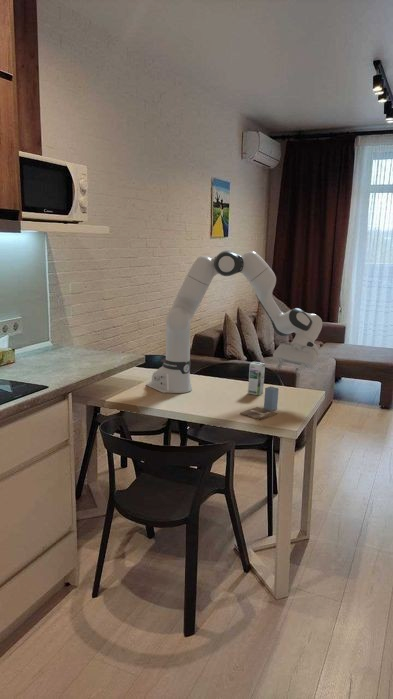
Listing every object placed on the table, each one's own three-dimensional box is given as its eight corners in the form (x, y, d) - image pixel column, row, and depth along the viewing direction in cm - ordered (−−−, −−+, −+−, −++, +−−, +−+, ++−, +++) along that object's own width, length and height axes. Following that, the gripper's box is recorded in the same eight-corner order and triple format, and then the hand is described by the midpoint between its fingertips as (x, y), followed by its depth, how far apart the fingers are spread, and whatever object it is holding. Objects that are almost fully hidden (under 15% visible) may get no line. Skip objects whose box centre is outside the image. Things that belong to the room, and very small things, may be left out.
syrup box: (247, 393, 246) (249, 363, 243) (252, 390, 251) (254, 360, 248) (258, 395, 243) (261, 365, 240) (263, 392, 248) (265, 362, 246)
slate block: (263, 408, 225) (265, 388, 223) (269, 406, 228) (270, 386, 226) (271, 410, 222) (273, 390, 221) (277, 408, 225) (278, 388, 224)
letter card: (239, 414, 216) (240, 412, 216) (257, 408, 225) (257, 406, 225) (260, 420, 210) (260, 418, 209) (277, 414, 218) (277, 412, 218)
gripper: (279, 337, 240) (265, 361, 235) (319, 345, 227) (305, 370, 222) (283, 346, 244) (270, 370, 239) (323, 354, 231) (310, 379, 226)
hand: (287, 370), depth 230 cm, fingers open, 8 cm apart
